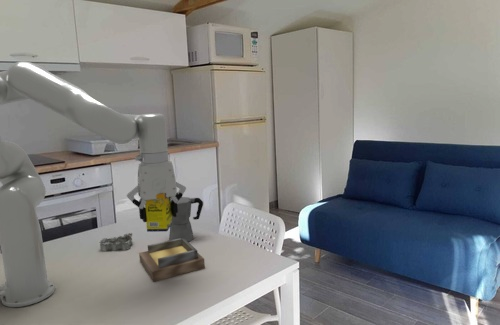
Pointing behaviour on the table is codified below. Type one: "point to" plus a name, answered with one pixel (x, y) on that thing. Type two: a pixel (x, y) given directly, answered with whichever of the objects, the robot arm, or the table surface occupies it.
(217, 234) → the table surface
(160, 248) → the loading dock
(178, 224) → the coffeepot
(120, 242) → the egg carton
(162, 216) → the supplement box
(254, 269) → the table surface
